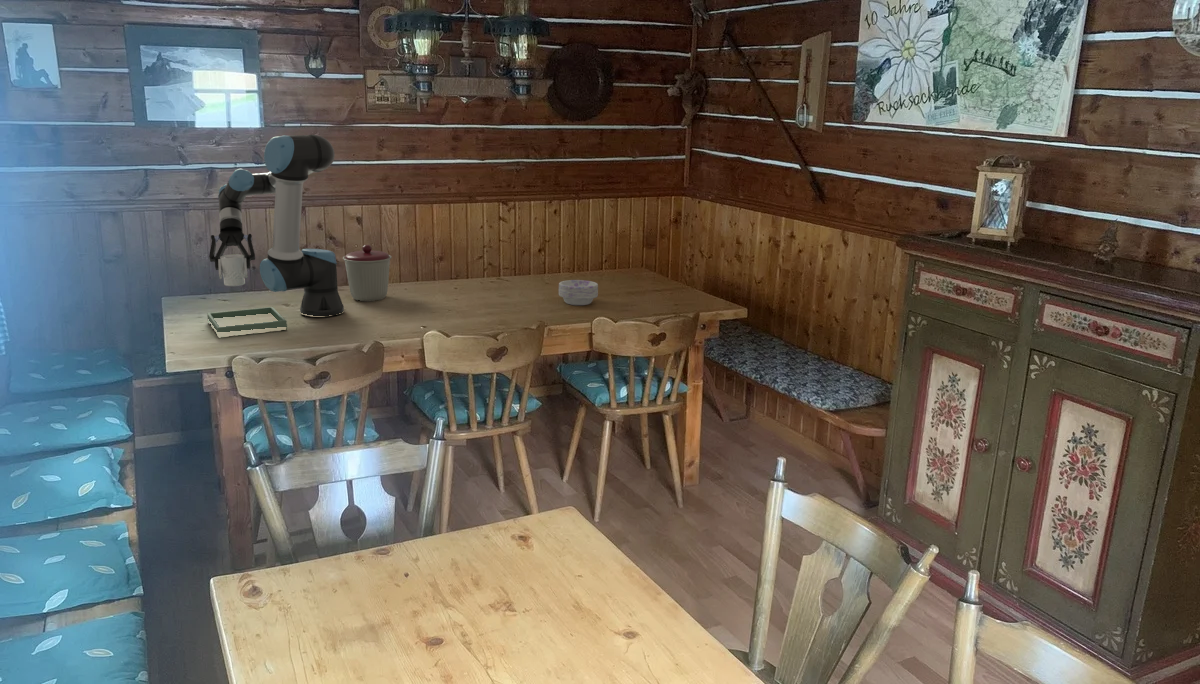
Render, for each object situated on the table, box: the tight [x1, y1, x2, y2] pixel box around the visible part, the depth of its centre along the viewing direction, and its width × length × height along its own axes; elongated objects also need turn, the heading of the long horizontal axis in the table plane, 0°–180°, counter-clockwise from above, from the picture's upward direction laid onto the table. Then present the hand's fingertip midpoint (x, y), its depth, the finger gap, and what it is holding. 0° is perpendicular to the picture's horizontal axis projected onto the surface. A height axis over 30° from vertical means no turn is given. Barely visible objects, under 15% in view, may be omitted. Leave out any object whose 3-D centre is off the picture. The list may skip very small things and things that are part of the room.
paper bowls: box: [558, 279, 599, 306], centre depth 355 cm, size 15×15×8 cm
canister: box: [342, 244, 392, 302], centre depth 352 cm, size 18×18×21 cm
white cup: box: [220, 253, 246, 287], centre depth 322 cm, size 8×8×10 cm
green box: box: [206, 306, 288, 332], centre depth 312 cm, size 22×22×4 cm
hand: (233, 276), depth 319 cm, fingers closed on white cup, 8 cm apart
